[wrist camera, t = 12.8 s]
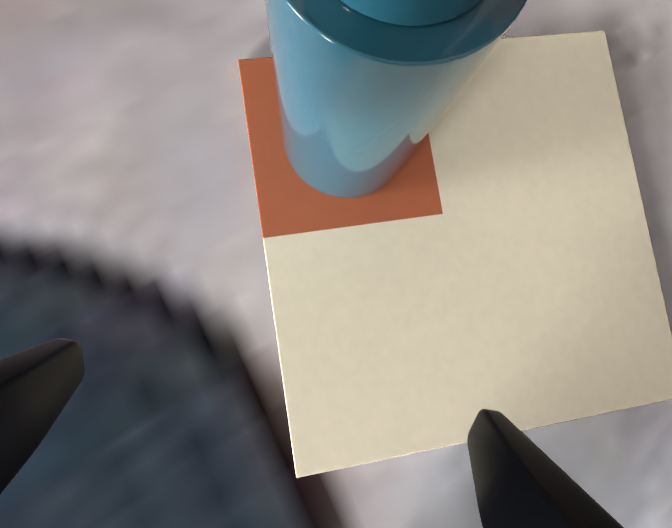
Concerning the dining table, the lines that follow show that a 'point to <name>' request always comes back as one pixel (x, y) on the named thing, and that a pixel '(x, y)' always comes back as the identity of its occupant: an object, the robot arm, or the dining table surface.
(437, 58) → the bottle with flat stopper
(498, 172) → the mat
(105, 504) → the dining table surface
